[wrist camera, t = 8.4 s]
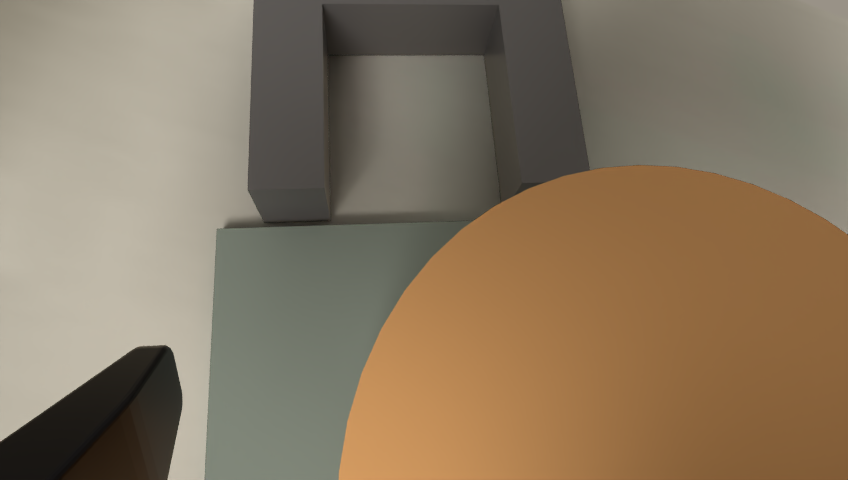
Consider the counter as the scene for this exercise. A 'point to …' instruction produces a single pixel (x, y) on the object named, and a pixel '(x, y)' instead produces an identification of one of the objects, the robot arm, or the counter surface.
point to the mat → (300, 338)
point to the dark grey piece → (406, 35)
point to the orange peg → (616, 340)
